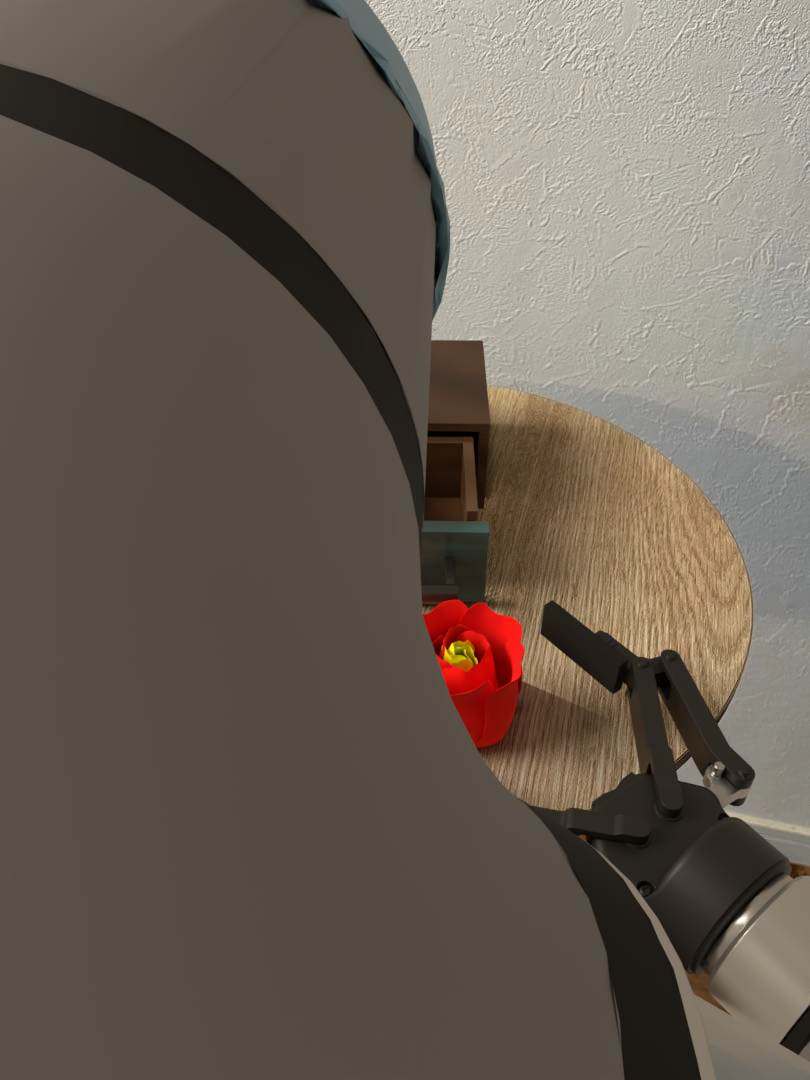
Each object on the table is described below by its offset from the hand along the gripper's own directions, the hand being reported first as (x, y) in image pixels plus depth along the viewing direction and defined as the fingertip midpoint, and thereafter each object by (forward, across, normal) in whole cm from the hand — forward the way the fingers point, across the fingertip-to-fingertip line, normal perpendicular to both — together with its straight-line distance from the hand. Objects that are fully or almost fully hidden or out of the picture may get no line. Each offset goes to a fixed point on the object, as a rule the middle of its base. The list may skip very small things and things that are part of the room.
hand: (466, 665), depth 60 cm
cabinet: (+24, +15, -6) cm, 29 cm away
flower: (0, 0, -6) cm, 6 cm away
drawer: (+13, +6, -5) cm, 15 cm away
